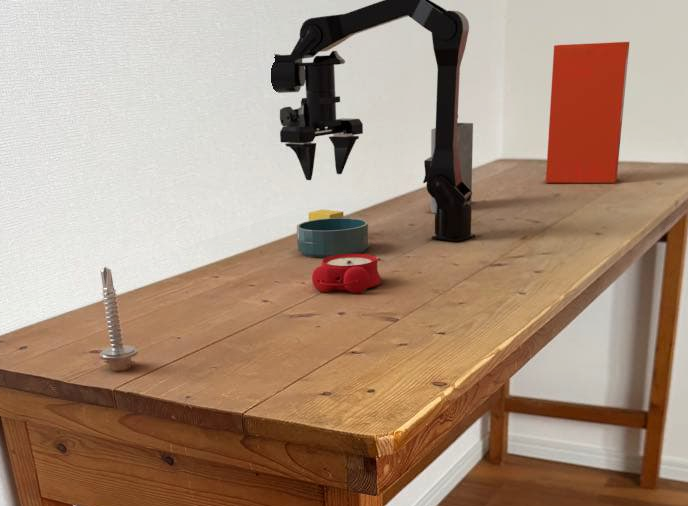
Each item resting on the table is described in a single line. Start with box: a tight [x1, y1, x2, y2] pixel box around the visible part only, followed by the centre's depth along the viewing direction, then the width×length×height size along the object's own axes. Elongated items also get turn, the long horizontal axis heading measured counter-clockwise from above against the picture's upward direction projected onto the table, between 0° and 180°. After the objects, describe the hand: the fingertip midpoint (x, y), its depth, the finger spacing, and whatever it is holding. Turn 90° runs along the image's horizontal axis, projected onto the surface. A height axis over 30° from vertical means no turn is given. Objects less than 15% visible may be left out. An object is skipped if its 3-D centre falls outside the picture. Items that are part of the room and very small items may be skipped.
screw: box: [99, 266, 138, 372], centre depth 120 cm, size 13×5×5 cm
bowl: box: [296, 217, 370, 259], centre depth 182 cm, size 14×14×5 cm
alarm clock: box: [311, 253, 382, 294], centre depth 155 cm, size 10×6×15 cm
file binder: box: [545, 41, 630, 184], centre depth 239 cm, size 8×17×32 cm, turn 71°
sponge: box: [308, 209, 345, 221], centre depth 194 cm, size 6×4×5 cm
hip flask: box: [430, 122, 474, 214], centre depth 216 cm, size 16×4×20 cm, turn 144°
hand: (324, 177), depth 190 cm, fingers open, 9 cm apart
